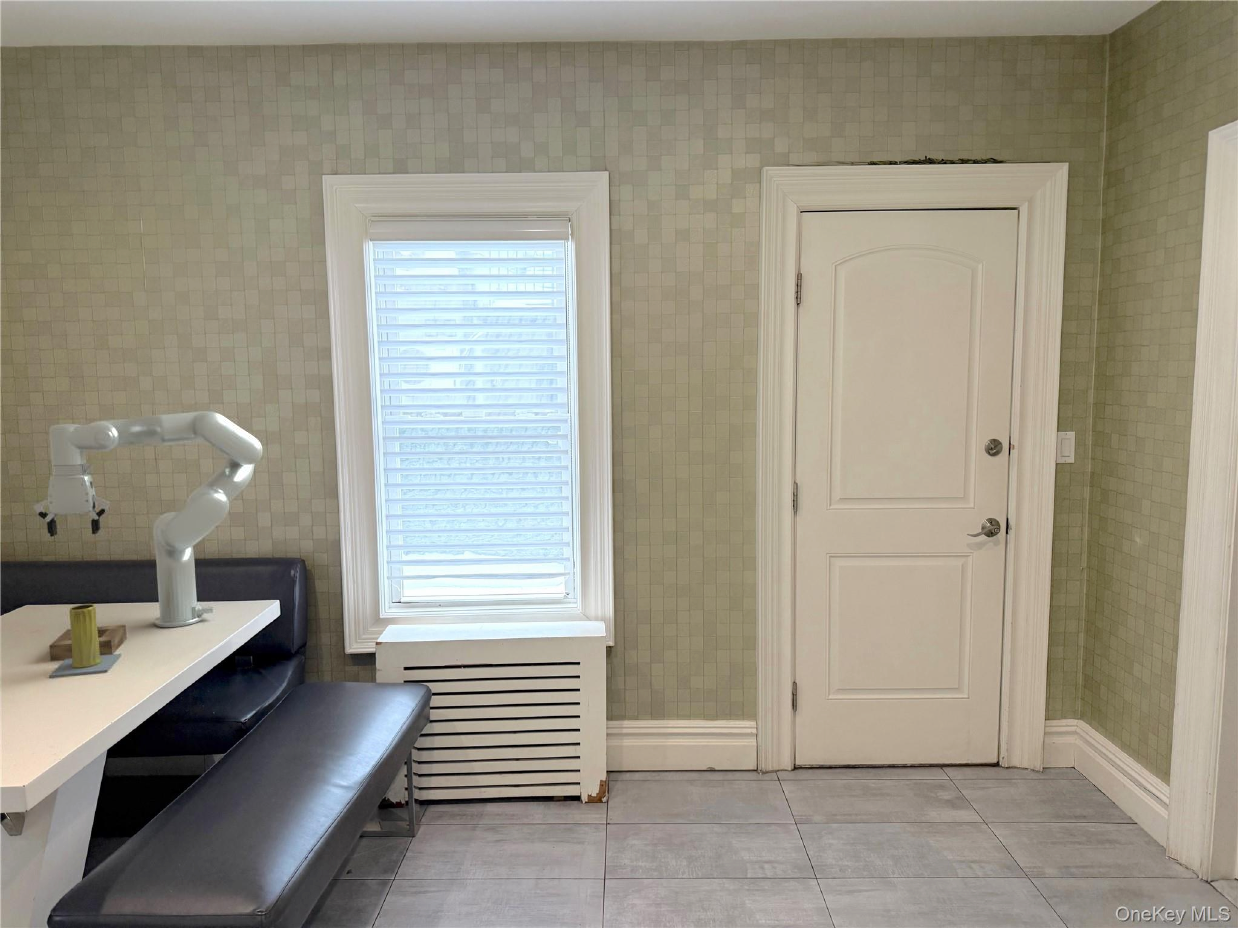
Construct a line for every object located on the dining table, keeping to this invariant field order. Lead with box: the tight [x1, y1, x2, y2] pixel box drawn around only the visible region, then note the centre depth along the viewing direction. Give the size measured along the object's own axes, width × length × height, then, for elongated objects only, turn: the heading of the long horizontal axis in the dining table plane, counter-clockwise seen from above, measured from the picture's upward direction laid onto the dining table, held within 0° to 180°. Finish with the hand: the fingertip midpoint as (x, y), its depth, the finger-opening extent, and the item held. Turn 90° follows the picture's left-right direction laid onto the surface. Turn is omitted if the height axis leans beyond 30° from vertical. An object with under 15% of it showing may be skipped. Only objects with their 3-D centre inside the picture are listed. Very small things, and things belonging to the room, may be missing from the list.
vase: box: [69, 603, 101, 668], centre depth 198 cm, size 6×6×14 cm
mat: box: [48, 653, 122, 679], centre depth 199 cm, size 12×12×1 cm
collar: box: [48, 624, 127, 662], centre depth 211 cm, size 14×14×4 cm
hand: (74, 534), depth 218 cm, fingers open, 9 cm apart
